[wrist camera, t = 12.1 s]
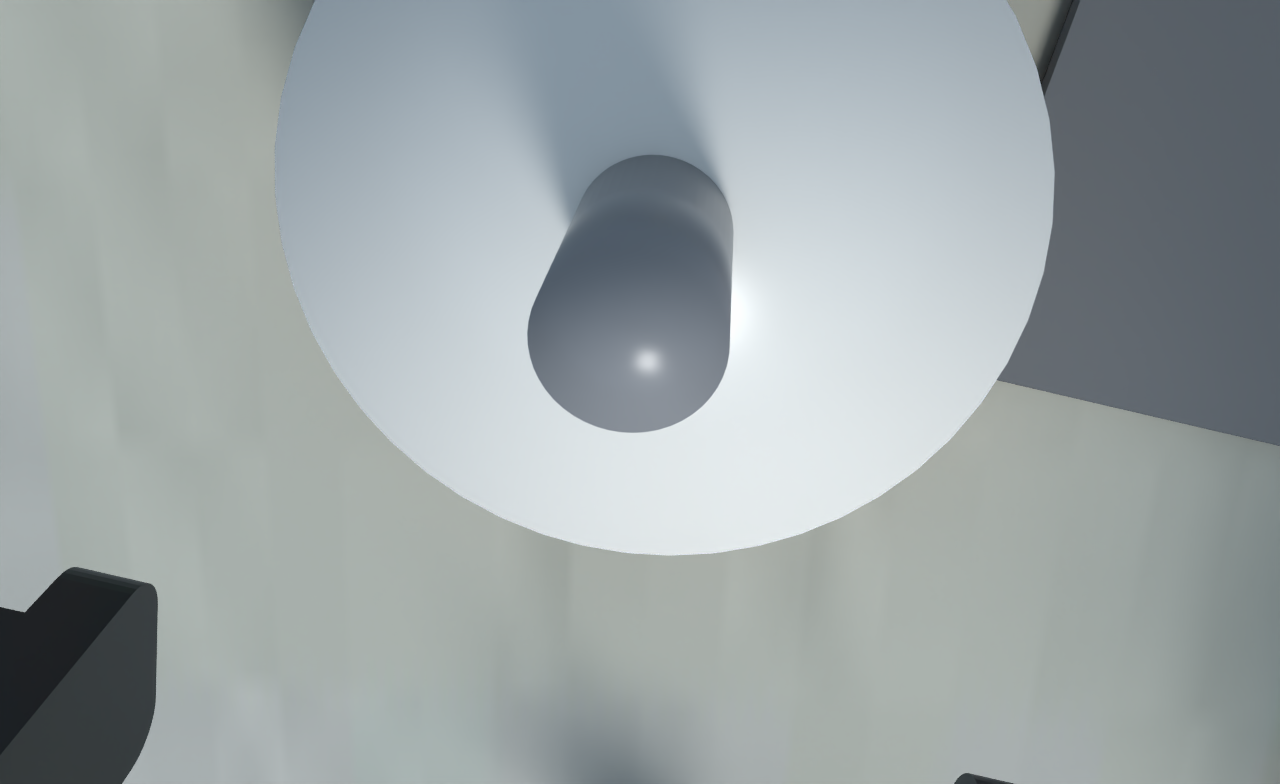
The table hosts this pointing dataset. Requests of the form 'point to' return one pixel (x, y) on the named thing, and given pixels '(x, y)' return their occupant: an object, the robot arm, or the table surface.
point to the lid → (665, 247)
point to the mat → (1163, 215)
